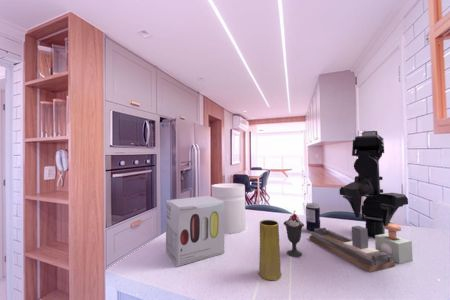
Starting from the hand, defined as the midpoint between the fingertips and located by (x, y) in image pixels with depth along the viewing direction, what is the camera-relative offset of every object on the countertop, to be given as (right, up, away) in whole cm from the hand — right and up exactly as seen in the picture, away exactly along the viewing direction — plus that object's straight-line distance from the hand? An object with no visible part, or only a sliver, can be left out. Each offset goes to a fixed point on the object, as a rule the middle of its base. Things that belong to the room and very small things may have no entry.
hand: (370, 221), depth 64 cm
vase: (-35, -12, -9) cm, 38 cm away
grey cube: (+7, -12, 0) cm, 14 cm away
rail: (-6, -12, +4) cm, 14 cm away
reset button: (+7, -6, 0) cm, 9 cm away
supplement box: (-58, -13, +5) cm, 60 cm away
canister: (-46, -14, +29) cm, 56 cm away
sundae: (-24, -12, +3) cm, 27 cm away
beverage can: (-8, -13, +23) cm, 28 cm away
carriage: (-4, -10, -1) cm, 11 cm away
